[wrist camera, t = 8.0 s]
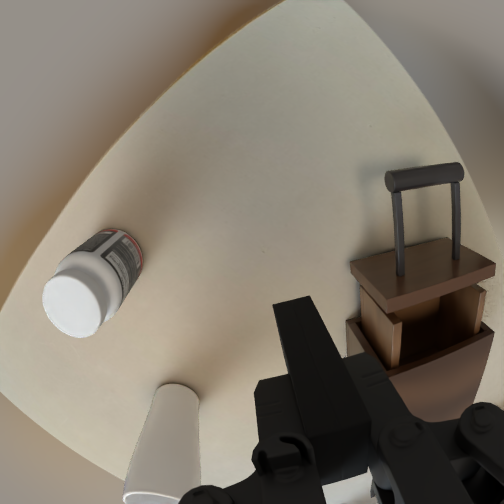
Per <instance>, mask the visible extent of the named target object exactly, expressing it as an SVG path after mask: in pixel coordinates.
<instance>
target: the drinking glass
mask: <svg viewBox="0 0 504 504" xmlns="http://www.w3.org/2000/svg"><path fill="white" fill-rule="evenodd" d="M199 405H200V403H199V399H198V397H197V395H196V394H195V392H193V391H192V390H191V389H189V388H188V387H186V386H183V385H179V384H166V385H163V386H161V387H160V388H158V389H157V390H156V392H155V394H154V397H153V400H152V404H151V407H150V410H149V412H148V415H147V418H146V420H145V423H144V426H143V428H142V431H141V434H140V436H139V439H138V441H137V444H136V447H135V449H134V452H133V455H132V458H131V461H130V464H129V467H128V471H127V475H126V480H125V485H124V492H123V501H124V502H125V504H178V503H179V501H180V500H181V498H182V496H183V495H184V494H185V493H187V492H188V491H189V490H191V489H193V488H196V487H198V486H201V462H200V441H199Z"/></svg>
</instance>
